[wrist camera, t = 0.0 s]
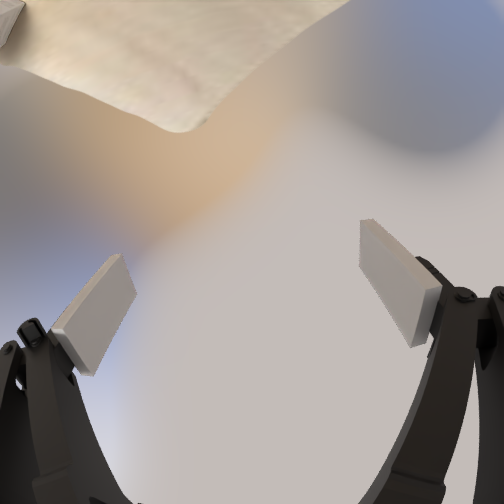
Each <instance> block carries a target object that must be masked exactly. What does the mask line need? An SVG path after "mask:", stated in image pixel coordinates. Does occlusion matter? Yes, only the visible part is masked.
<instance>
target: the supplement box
mask: <svg viewBox="0 0 504 504" xmlns="http://www.w3.org/2000/svg"><path fill="white" fill-rule="evenodd" d="M24 4H25V3H24V2H22V1H19V0H0V47H1V46H3V45H4V44H5V43H6V41H7V38H8V36H9V34H10V32H11V30H12V27H13V25H14V23H15V21H16V19H17V17H18V15H19V14H20V12H21V10H22V8H23V6H24Z"/></svg>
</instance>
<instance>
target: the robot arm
mask: <svg viewBox="0 0 504 504" xmlns="http://www.w3.org/2000/svg"><path fill="white" fill-rule="evenodd" d="M359 267H360V268H361V270H362V271H363V273H364V274H365V276H366V277H367V279H368V280H369V282H370V283H371V285H372V286H373V288H374V289H375V291H376V292H377V294H378V295H379V297H380V299H381V300H382V302H383V303H384V305H385V307H386V308H387V310H388V312H389V313H390V315H391V316H392V318H393V320H394V321H395V323H396V325H397V326H398V328H399V330H400V331H401V333H402V335H403V336H404V338H405V340H406V342H407V343H408V345H409V347H410V348H412V347H415V346H418V345H421V344H425V343H426V341H427V338H428V335H429V332H430V333H431V334H432V336H433V338H434V340H433V343H432V345H431V348H430V351H429V353H428V356H427V358H428V360H427V363H426V366H425V369H424V372H423V376H422V379H421V381H420V384H419V387H418V390H417V393H416V395H415V398H414V400H413V403H412V405H411V408H410V410H409V413H408V415H407V417H406V420H405V422H404V424H403V427H402V429H401V431H400V433H399V435H398V437H397V439H396V442H395V443H394V445H393V448H392V449H391V451H390V453H389V455H388V457H387V459H386V461H385V463H384V464H383V466H382V468H381V470H380V471H379V473H378V475H377V477H376V478H375V480H374V482H373V483H372V485H371V486H370V488H369V490H368V491H367V493H366V494H365V495H364V497H363V498H362V499H361V501H360V502H359V503H358V504H441V503H442V501H443V498H444V495H445V491H446V486H445V484H444V478H445V475H446V472H447V470H448V467H449V464H450V462H451V459H452V456H453V453H454V450H455V447H456V444H457V441H458V437H459V434H460V430H461V427H462V423H463V419H464V415H465V411H466V407H467V402H468V397H469V392H470V387H471V381H472V375H473V368H474V360H475V367H476V375H477V385H478V398H479V419H480V420H479V422H480V423H479V426H480V427H479V458H478V470H477V479H476V486H475V493H474V499H473V504H504V287H503V286H496V287H494V288H493V289H492V292H491V294H490V297H489V298H477V296H476V294H475V293H474V292H473V291H471V290H470V289H467V288H465V287H454V286H453V285H452V284H451V283H450V282H449V281H448V280H447V279H446V278H445V277H444V276H443V275H442V274H441V273H439V271H438V270H437V269H436V268H434V266H433V265H432V264H431V263H430V262H429V261H427V260H425V259H423V258H422V257H420V256H419V257H414V256H413V255H412V254H411V253H410V252H409V251H408V250H407V249H406V248H405V247H404V246H402V245H401V244H400V243H399V242H398V241H397V240H396V239H395V238H394V237H393V236H392V235H391V234H389V233H388V232H387V231H386V230H385V229H384V228H383V227H382V226H381V225H379V224H378V223H377V222H376V221H375V220H374V219H368V220H361V221H360V258H359ZM136 295H137V292H136V290H135V287H134V285H133V282H132V279H131V277H130V274H129V272H128V269H127V266H126V263H125V261H124V258H123V255H122V254H117V255H111V256H110V257H109V258H108V259H107V261H106V262H105V263H104V264H103V265H102V266H101V267H100V268H99V270H98V271H97V272H96V273H95V274H94V275H93V276H92V278H91V279H90V280H89V281H88V282H87V284H86V285H85V286H84V287H83V288H82V290H81V291H80V292H79V293H78V294H77V296H76V297H75V298H74V299H73V301H72V302H71V303H70V304H69V305H68V307H67V308H66V309H65V310H64V311H63V313H62V314H61V316H60V317H59V318H58V319H57V321H56V322H55V323H54V325H53V326H52V328H51V329H50V330H49V331H48V333H46V332H45V330H44V328H43V327H42V325H41V323H40V321H39V320H38V319H37V318H32V319H29V320H27V321H25V322H24V323H23V324H22V325H21V326H20V327H19V328H18V330H17V334H18V335H19V337H20V338H21V340H22V342H23V343H24V345H25V346H26V347H24V348H20V346H19V345H18V343H17V342H16V341H14V340H13V341H9V342H7V343H6V344H4V345H3V347H2V348H1V350H0V504H133V503H132V502H130V501H129V500H128V499H127V498H126V497H125V495H124V494H123V493H122V491H121V489H120V488H119V486H118V484H117V482H116V480H115V478H114V476H113V474H112V472H111V470H110V468H109V466H108V464H107V462H106V460H105V457H104V455H103V453H102V451H101V448H100V446H99V444H98V441H97V439H96V436H95V434H94V431H93V428H92V426H91V424H90V420H89V418H88V415H87V412H86V409H85V406H84V403H83V400H82V396H81V393H80V390H79V386H78V383H77V379H76V376H75V375H74V373H73V372H72V370H73V368H74V366H75V367H76V368H77V370H78V371H79V372H80V374H81V375H85V376H94V374H95V372H96V370H97V368H98V366H99V364H100V362H101V360H102V358H103V356H104V354H105V352H106V350H107V348H108V346H109V344H110V343H111V341H112V339H113V337H114V335H115V333H116V331H117V329H118V328H119V326H120V324H121V322H122V320H123V318H124V316H125V315H126V313H127V311H128V309H129V307H130V306H131V304H132V302H133V300H134V299H135V297H136ZM16 379H17V380H18V382H19V383H20V384H21V385H22V390H20V389H19V388H18V387H17V385H16ZM138 504H141V503H138Z"/></svg>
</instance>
